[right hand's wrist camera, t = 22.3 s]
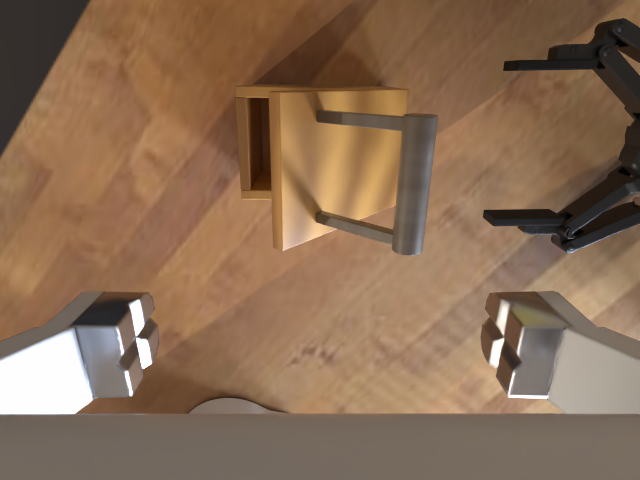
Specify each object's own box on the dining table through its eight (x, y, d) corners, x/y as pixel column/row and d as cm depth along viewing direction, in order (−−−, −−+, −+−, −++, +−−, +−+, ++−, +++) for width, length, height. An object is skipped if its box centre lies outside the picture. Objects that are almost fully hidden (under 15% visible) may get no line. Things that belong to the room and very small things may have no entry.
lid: (272, 248, 26) (386, 291, 21) (267, 91, 22) (402, 97, 17) (389, 202, 36) (485, 224, 31) (399, 88, 32) (508, 92, 27)
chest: (256, 175, 45) (241, 199, 36) (252, 84, 41) (234, 85, 33) (379, 177, 45) (393, 201, 36) (385, 86, 41) (402, 88, 33)
